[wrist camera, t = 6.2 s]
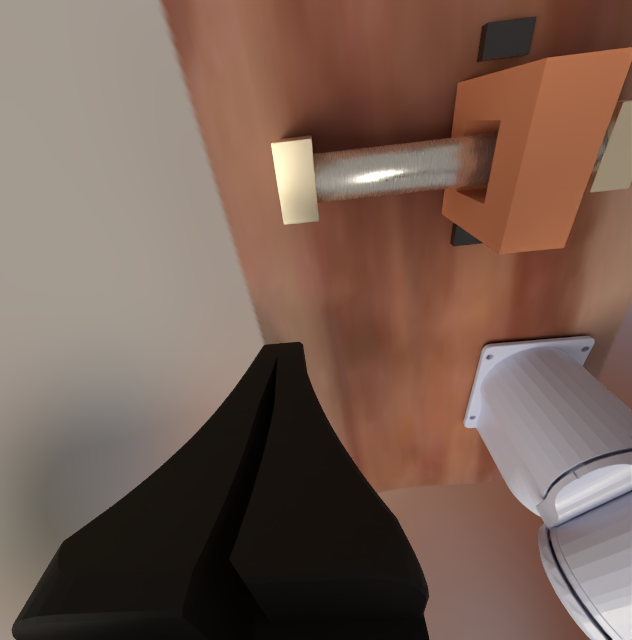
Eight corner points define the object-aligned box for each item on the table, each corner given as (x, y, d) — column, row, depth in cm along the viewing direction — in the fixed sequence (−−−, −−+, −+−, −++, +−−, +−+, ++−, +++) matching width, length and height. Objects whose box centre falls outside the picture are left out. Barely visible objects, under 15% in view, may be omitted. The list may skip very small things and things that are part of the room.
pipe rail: (612, 9, 13) (727, -35, 9) (542, 234, 18) (597, 260, 15) (268, 54, 14) (253, 30, 10) (297, 258, 19) (294, 289, 15)
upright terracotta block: (512, 76, 14) (637, 46, 9) (485, 209, 17) (564, 247, 12) (458, 82, 14) (547, 57, 9) (441, 213, 17) (499, 254, 12)
